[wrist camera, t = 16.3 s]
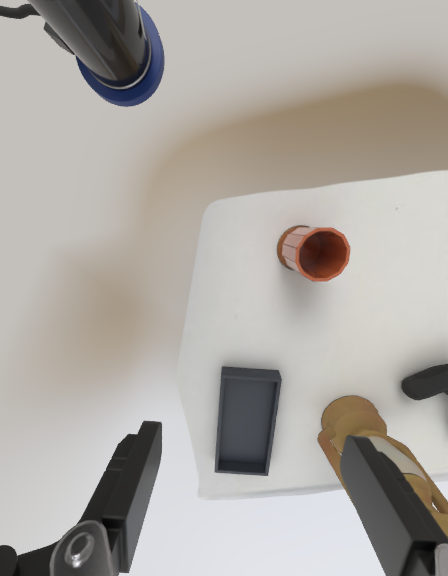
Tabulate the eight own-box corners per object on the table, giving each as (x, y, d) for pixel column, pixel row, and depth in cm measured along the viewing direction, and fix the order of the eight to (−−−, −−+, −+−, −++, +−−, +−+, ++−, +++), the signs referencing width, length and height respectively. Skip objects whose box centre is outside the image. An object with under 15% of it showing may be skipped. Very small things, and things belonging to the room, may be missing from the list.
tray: (221, 366, 43) (221, 375, 41) (278, 370, 43) (281, 379, 41) (215, 459, 49) (214, 472, 46) (265, 463, 49) (267, 476, 46)
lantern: (309, 445, 47) (438, 791, 18) (306, 399, 45) (451, 718, 16) (388, 437, 47) (652, 786, 18) (390, 391, 44) (701, 709, 15)
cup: (272, 256, 38) (285, 265, 29) (295, 219, 37) (316, 217, 28) (306, 276, 39) (328, 290, 30) (329, 240, 37) (360, 245, 29)
